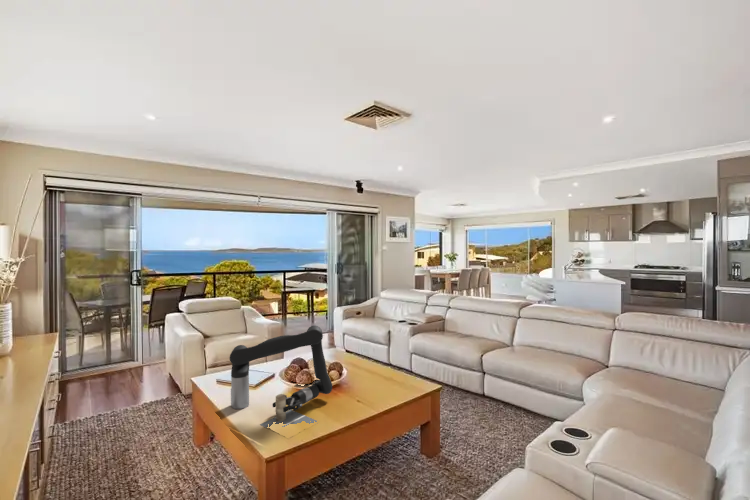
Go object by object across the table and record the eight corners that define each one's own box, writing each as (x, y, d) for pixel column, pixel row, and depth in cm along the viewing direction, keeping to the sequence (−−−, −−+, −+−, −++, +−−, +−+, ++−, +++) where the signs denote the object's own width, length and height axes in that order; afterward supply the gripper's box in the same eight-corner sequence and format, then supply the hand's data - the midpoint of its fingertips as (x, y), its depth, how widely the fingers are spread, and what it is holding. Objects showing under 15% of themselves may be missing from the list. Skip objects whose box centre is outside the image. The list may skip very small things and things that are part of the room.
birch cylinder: (273, 419, 192) (273, 396, 192) (281, 415, 196) (281, 393, 196) (280, 422, 189) (279, 399, 189) (287, 418, 193) (287, 395, 193)
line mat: (259, 425, 187) (259, 424, 187) (290, 410, 203) (290, 409, 203) (288, 440, 174) (288, 438, 174) (319, 422, 190) (319, 421, 190)
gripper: (293, 386, 208) (269, 396, 195) (311, 393, 200) (287, 404, 187) (293, 400, 208) (269, 411, 196) (311, 407, 200) (287, 419, 187)
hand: (278, 407), depth 191 cm, fingers open, 8 cm apart
